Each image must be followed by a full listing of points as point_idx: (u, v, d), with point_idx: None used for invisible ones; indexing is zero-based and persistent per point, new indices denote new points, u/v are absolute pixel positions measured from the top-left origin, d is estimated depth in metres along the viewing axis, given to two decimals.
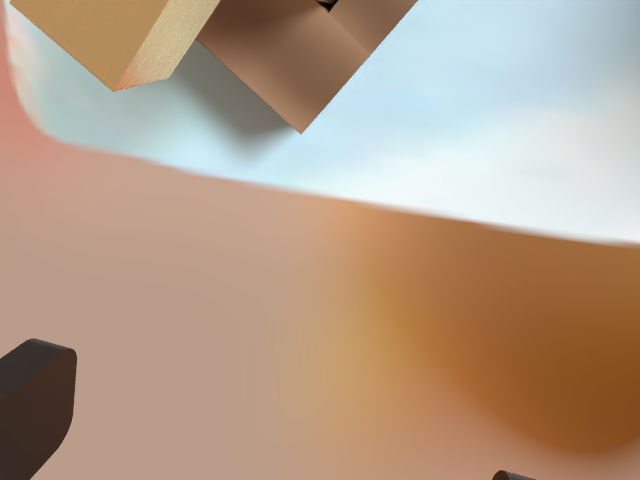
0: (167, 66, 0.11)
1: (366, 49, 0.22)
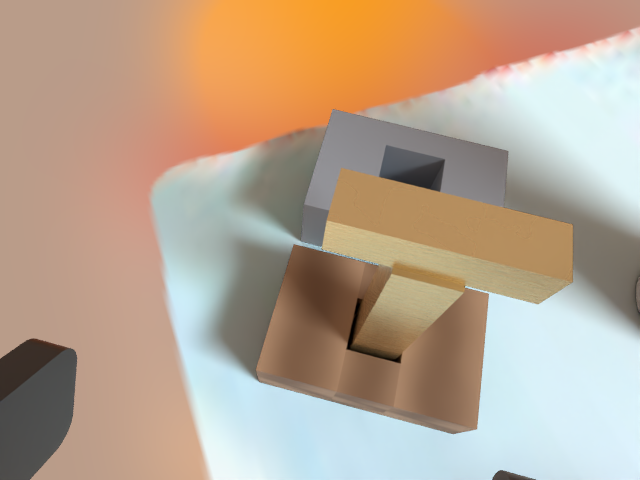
0: (332, 245, 0.19)
1: (338, 387, 0.29)
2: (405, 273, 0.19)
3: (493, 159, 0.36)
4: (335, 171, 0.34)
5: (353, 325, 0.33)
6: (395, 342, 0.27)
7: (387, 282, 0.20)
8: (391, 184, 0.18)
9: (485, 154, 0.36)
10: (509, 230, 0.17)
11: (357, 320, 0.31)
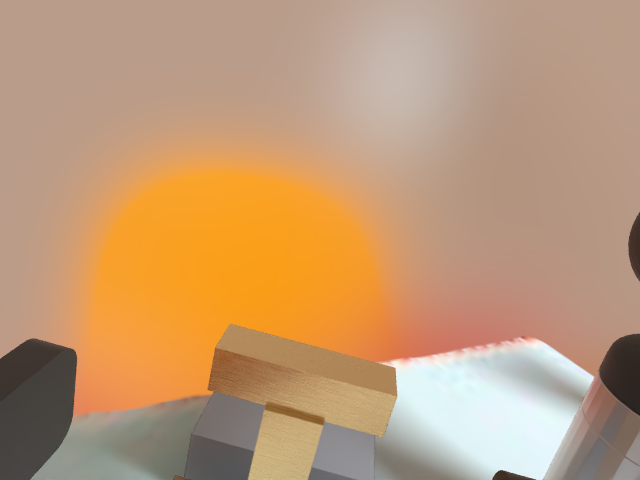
0: (217, 382, 0.23)
1: None
2: (275, 410, 0.23)
3: None
4: (225, 410, 0.38)
5: None
6: None
7: (261, 425, 0.23)
8: (265, 335, 0.24)
9: None
10: (350, 366, 0.24)
11: None
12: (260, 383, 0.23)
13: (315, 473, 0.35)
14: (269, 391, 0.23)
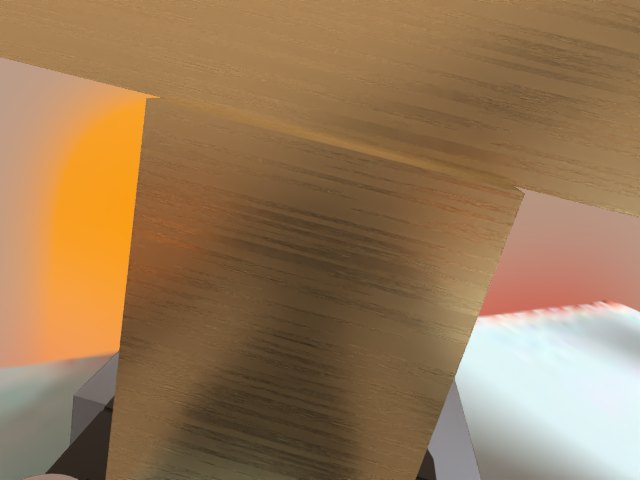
0: None
1: None
2: (218, 114, 0.04)
3: None
4: None
5: None
6: None
7: (137, 218, 0.04)
8: None
9: None
10: None
11: None
12: None
13: None
14: None
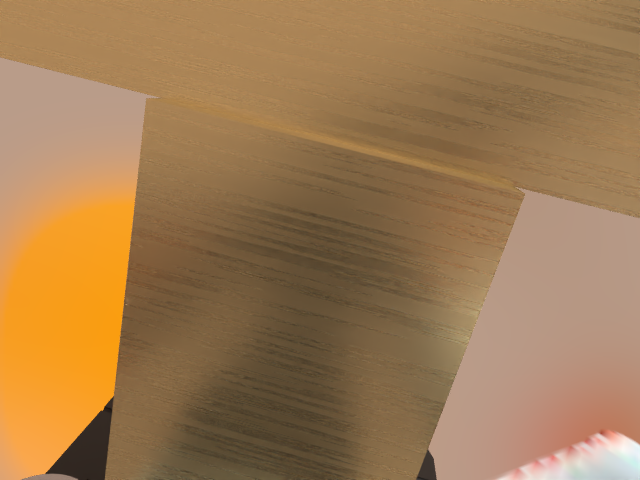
0: None
1: None
2: (219, 114, 0.04)
3: None
4: None
5: None
6: None
7: (137, 219, 0.04)
8: None
9: None
10: None
11: None
12: None
13: None
14: None
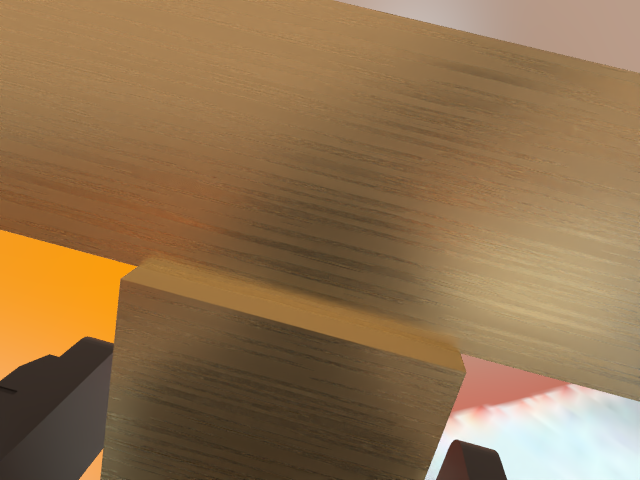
0: None
1: None
2: (189, 287, 0.04)
3: None
4: None
5: None
6: None
7: (115, 376, 0.04)
8: None
9: None
10: None
11: None
12: (96, 123, 0.04)
13: None
14: (151, 175, 0.04)
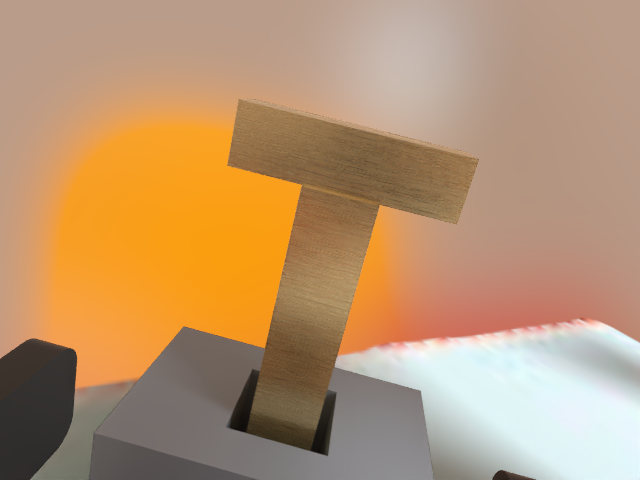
0: (240, 153, 0.18)
1: None
2: (316, 189, 0.18)
3: (403, 398, 0.25)
4: (167, 392, 0.21)
5: None
6: (304, 402, 0.20)
7: (296, 211, 0.18)
8: (300, 111, 0.19)
9: (391, 392, 0.26)
10: (412, 140, 0.18)
11: None
12: (297, 151, 0.17)
13: None
14: (308, 162, 0.18)
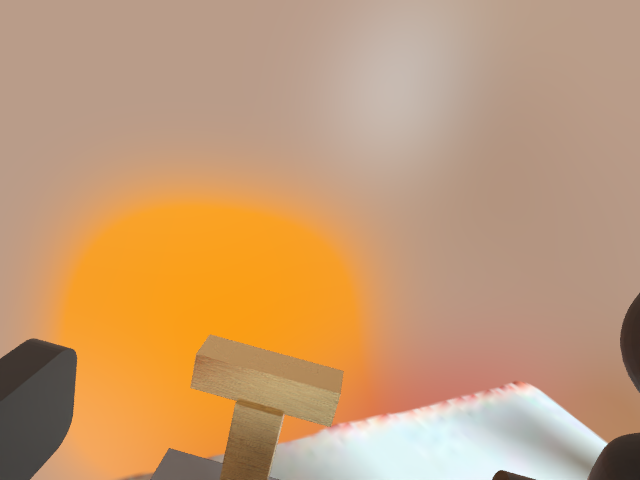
0: (198, 382, 0.29)
1: None
2: (244, 404, 0.29)
3: None
4: None
5: None
6: None
7: (233, 416, 0.29)
8: (238, 344, 0.30)
9: None
10: (305, 369, 0.29)
11: None
12: (232, 382, 0.29)
13: None
14: (239, 389, 0.29)
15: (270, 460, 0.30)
